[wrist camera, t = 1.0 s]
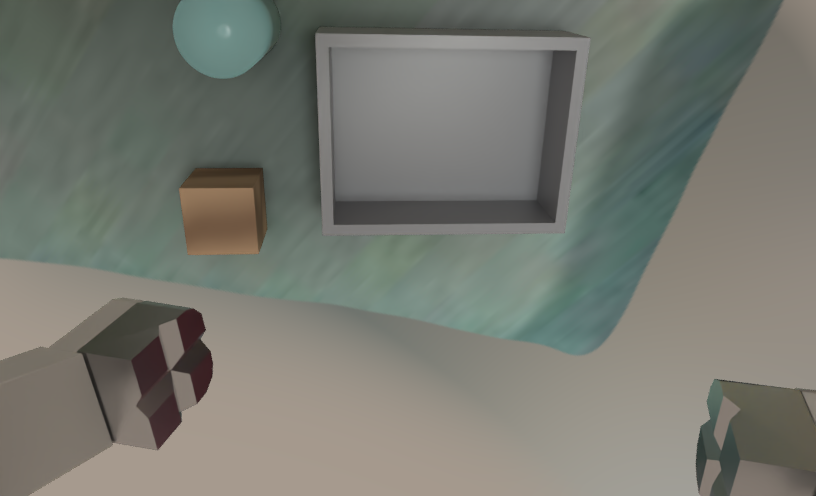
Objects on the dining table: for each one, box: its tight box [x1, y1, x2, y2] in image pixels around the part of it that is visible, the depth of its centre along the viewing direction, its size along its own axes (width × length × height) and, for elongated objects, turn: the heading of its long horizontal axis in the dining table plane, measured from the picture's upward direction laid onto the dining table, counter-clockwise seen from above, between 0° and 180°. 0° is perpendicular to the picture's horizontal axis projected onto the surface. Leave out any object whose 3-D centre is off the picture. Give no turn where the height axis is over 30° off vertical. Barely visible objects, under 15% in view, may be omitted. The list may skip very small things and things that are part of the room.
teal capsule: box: [173, 0, 281, 79], centre depth 39 cm, size 5×5×9 cm
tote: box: [315, 27, 591, 236], centre depth 44 cm, size 14×18×6 cm
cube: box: [179, 168, 267, 255], centre depth 46 cm, size 5×5×5 cm
